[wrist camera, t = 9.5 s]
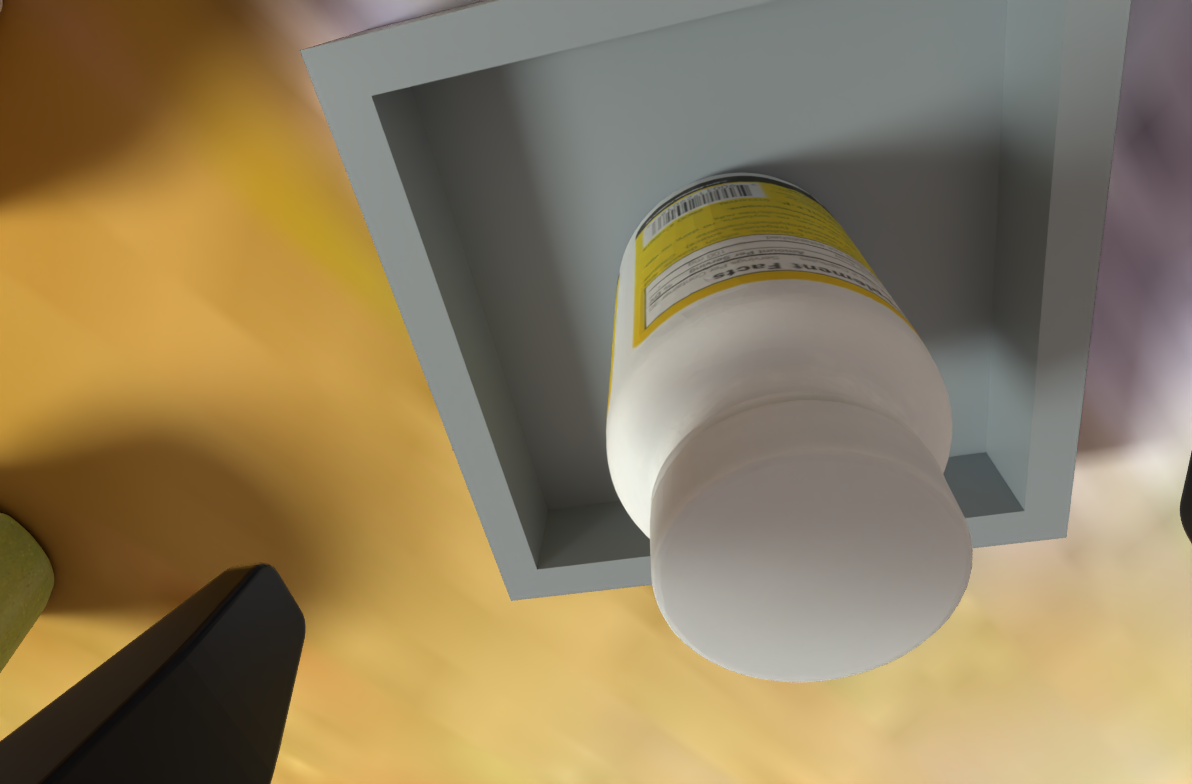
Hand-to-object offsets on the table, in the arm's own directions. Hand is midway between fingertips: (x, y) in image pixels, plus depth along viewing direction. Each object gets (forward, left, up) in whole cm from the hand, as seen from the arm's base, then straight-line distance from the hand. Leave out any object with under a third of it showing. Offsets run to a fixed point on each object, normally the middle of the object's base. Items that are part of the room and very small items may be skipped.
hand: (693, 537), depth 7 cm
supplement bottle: (+2, +1, -11) cm, 12 cm away
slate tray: (+2, +1, -12) cm, 12 cm away
